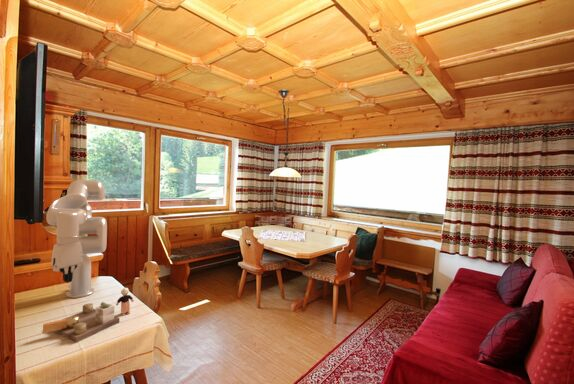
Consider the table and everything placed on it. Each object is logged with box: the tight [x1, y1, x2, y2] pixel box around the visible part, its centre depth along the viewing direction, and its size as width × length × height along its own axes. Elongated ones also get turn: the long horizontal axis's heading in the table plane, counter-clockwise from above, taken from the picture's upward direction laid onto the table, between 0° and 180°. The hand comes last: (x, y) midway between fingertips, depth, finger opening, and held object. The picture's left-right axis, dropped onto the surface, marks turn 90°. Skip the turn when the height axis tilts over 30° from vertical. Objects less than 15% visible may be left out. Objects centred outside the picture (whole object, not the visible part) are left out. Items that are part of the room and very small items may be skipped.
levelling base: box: [52, 301, 120, 343], centre depth 126 cm, size 20×18×10 cm
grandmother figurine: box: [115, 287, 135, 317], centre depth 137 cm, size 8×4×13 cm, turn 148°
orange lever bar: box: [42, 314, 79, 334], centre depth 119 cm, size 12×4×4 cm, turn 129°
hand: (67, 281), depth 124 cm, fingers closed
